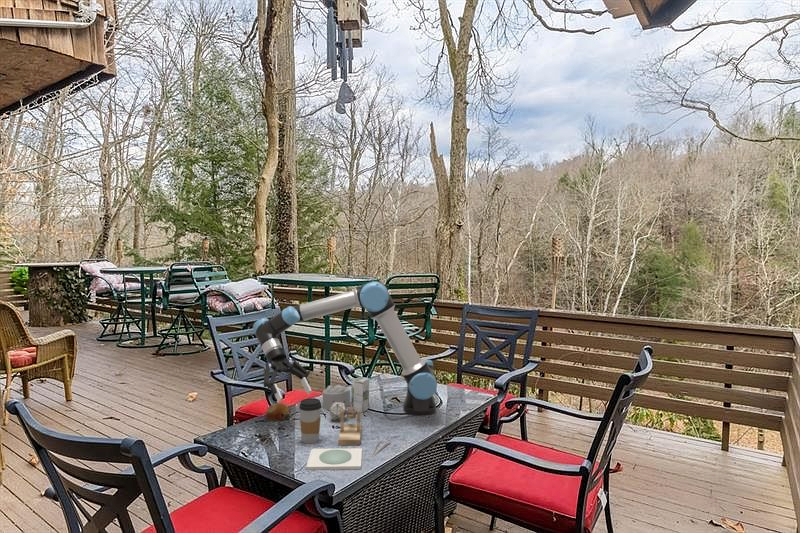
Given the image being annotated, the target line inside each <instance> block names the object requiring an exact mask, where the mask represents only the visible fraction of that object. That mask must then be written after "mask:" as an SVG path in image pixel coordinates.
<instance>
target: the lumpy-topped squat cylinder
mask: <svg viewBox="0 0 800 533" xmlns="http://www.w3.org/2000/svg"><path fill="white" fill-rule="evenodd" d="M333 401H334V402H344V401H345V403H344V404H345V406H346V407H349V406H350V405H351V389H350V388H348V387H347V386H344V385H341V384H337V385H334V386H333V385H327V387H326V388H325V389H323V391H322V408H323V409H324V410H330V408H331V406H332V405H333V403H334V402H333Z"/></svg>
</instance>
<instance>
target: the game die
mask: <svg viewBox="0 0 800 533" xmlns="http://www.w3.org/2000/svg"><path fill="white" fill-rule="evenodd" d="M333 402H334V401H333ZM344 403H345V401H344V402H334V403H333V405H332V406H331V408H330V409H326V410H327V412H329V414H330V417H331V422H333V421H338V420H339V421H341V410H344V411H348V409H347V406H345V404H344ZM345 417H346V415H344V418H345Z"/></svg>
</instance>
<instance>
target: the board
mask: <svg viewBox="0 0 800 533" xmlns="http://www.w3.org/2000/svg"><path fill="white" fill-rule="evenodd" d="M362 459H363V447H361V448H360V447H359V448H356V447H355V448H349V447H348V448H311V451H310V454H309V457H308V460H307V463H306V467H305V470H306V471H317V470H318V471H319V470H323V471H324V470H326V471H327V470H334V471H335V470H339V471H340V470H362V461H363V460H362Z"/></svg>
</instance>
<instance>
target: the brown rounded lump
mask: <svg viewBox="0 0 800 533" xmlns="http://www.w3.org/2000/svg"><path fill="white" fill-rule="evenodd" d="M290 416H291V410H290V408H289V406H288V405H287V404H286V403H282V402H276V403H273V404H271V405H270V406H269V407H268V408H267V410H266V412H265V417H266V419H267V420H268V419H269V420H268V421H271V420H272V422H280V421H281V420H282V421H285V419H286V420H288V419H289V418H290ZM288 417H289V418H288ZM287 418H288V419H287ZM282 421H281V422H282Z"/></svg>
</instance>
